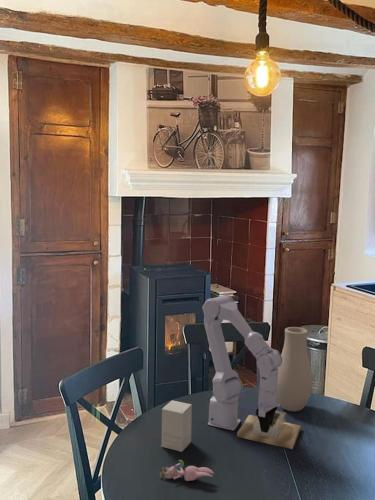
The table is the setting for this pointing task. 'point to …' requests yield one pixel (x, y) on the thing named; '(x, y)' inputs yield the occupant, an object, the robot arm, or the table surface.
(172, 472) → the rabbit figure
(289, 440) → the board
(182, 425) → the supplement box
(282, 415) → the beige hollow boxy piece
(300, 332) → the vase
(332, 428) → the table surface
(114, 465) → the table surface
